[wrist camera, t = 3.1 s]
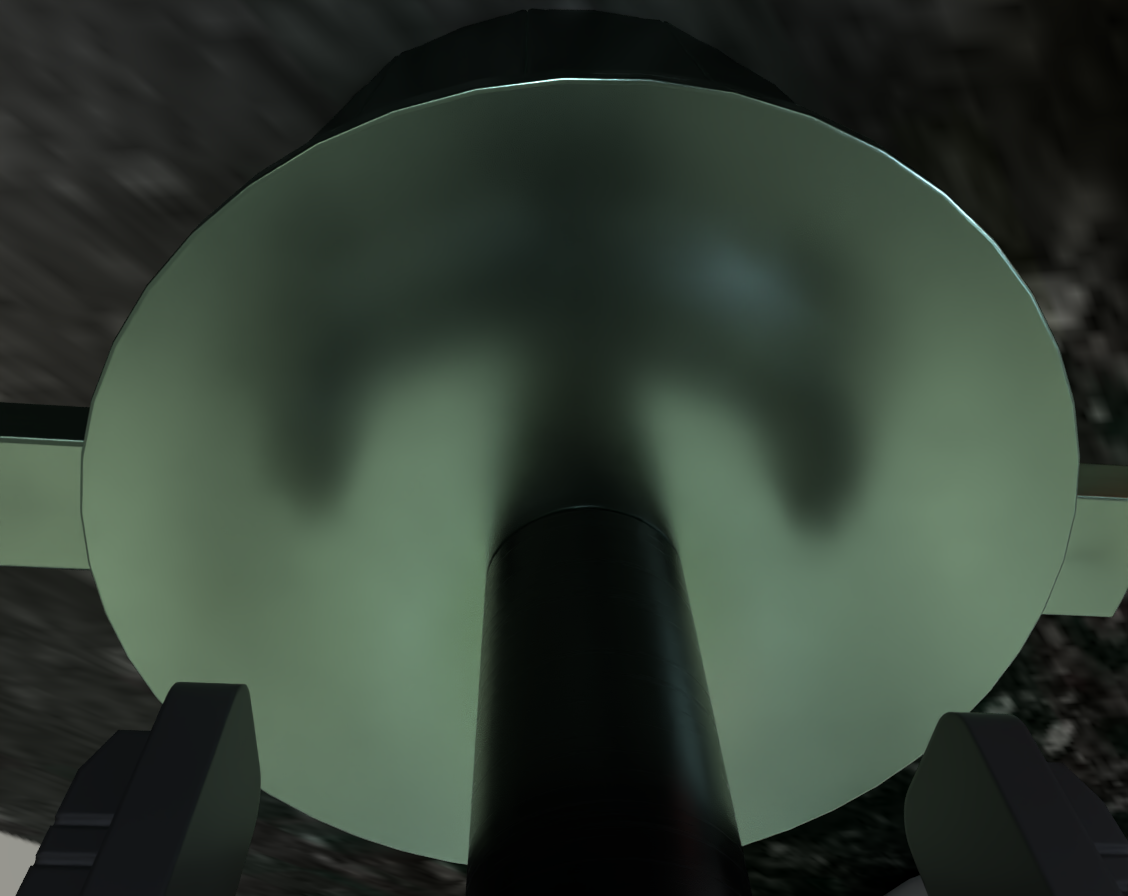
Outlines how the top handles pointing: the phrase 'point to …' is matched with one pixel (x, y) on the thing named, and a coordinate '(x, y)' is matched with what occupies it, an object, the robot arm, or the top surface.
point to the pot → (482, 50)
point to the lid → (583, 474)
